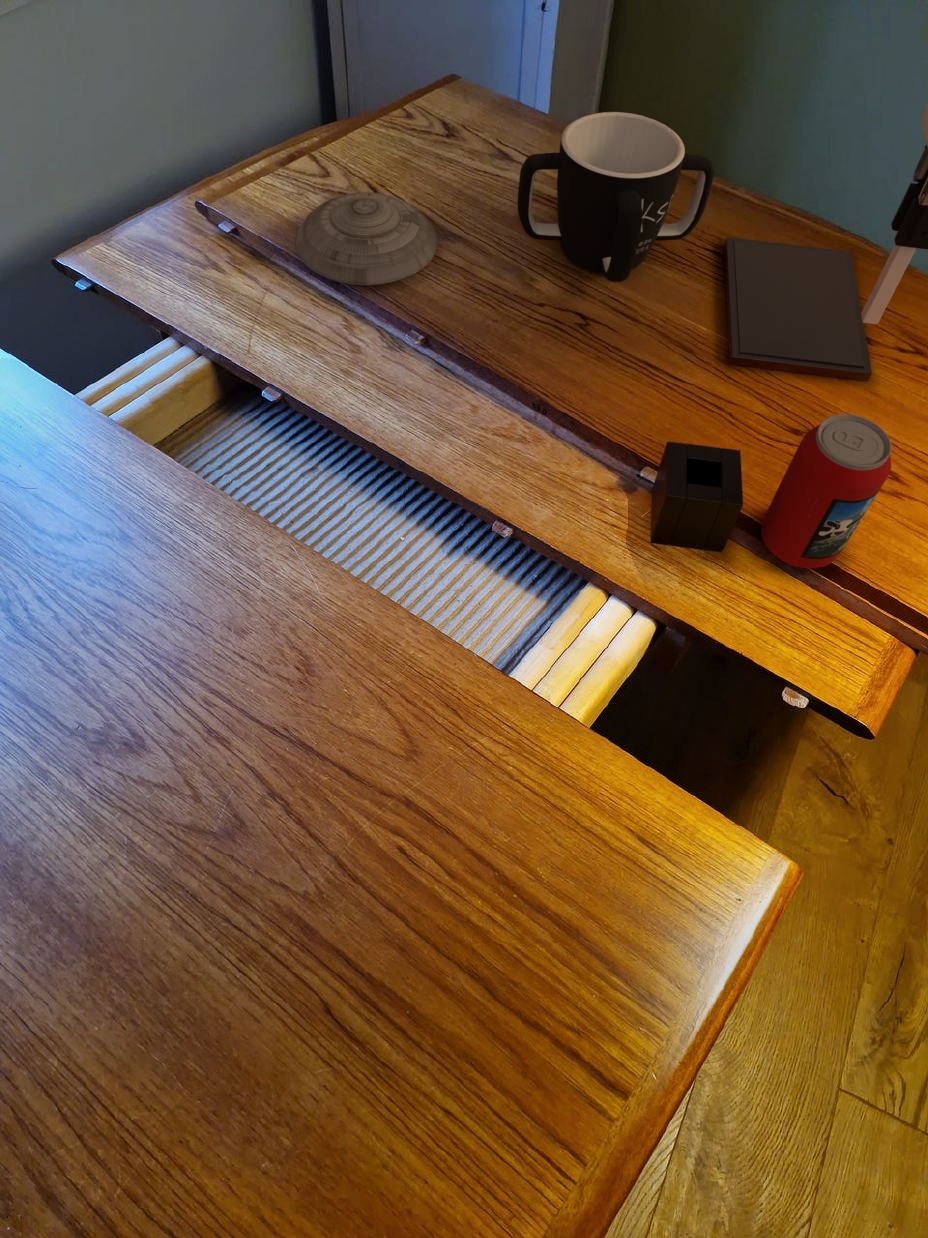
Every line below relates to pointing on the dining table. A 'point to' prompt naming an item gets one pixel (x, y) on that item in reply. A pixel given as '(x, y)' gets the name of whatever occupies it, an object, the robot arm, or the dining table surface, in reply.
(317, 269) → the flying saucer
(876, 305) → the stylus
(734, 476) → the pen holder
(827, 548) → the beverage can
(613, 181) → the mug
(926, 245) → the robot arm
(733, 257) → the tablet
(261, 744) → the dining table surface
